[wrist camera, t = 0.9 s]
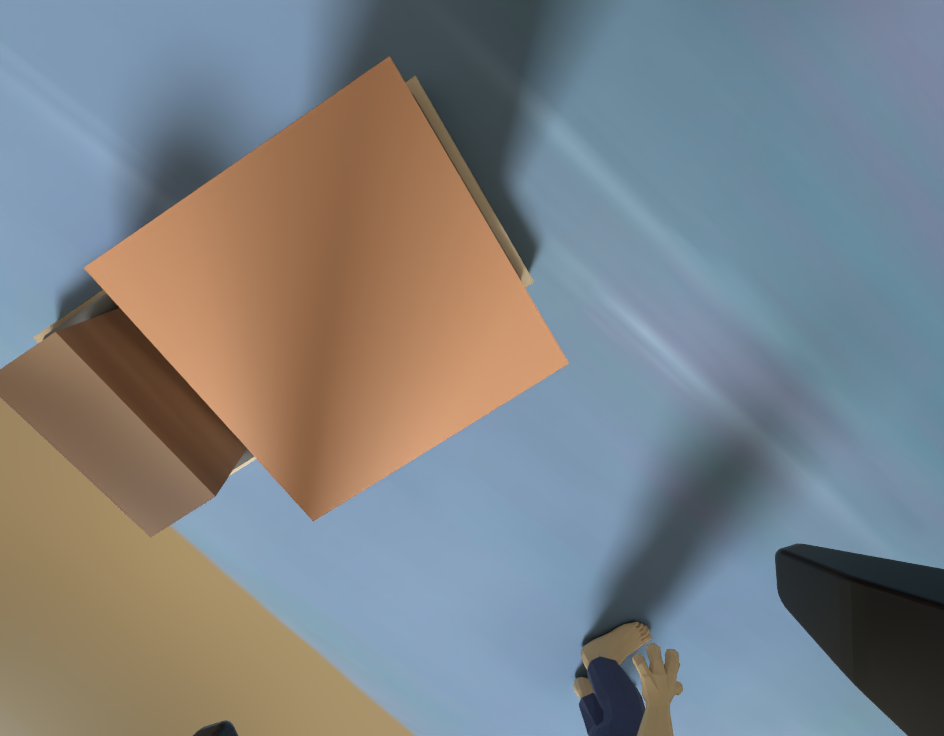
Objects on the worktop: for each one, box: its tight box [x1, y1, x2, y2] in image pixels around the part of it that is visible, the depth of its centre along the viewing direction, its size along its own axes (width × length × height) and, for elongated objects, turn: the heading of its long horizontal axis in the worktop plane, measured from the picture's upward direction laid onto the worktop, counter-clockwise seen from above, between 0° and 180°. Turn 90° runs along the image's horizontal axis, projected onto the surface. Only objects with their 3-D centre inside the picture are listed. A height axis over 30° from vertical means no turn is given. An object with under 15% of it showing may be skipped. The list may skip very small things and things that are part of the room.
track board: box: [33, 76, 534, 476], centre depth 19 cm, size 16×8×2 cm, turn 122°
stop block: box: [0, 308, 247, 537], centre depth 17 cm, size 2×6×5 cm, turn 32°
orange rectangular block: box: [84, 56, 569, 521], centre depth 13 cm, size 5×5×11 cm
